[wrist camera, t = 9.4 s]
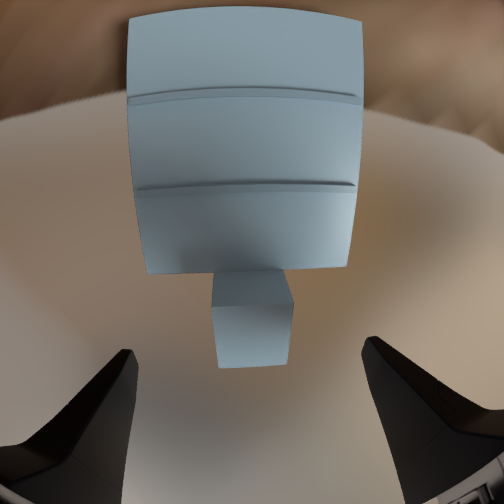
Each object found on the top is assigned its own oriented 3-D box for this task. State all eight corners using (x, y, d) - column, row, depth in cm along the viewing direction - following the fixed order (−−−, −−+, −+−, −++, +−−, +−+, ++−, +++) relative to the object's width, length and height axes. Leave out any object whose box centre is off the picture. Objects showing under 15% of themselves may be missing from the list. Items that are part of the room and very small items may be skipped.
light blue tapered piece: (142, 30, 8) (106, -1, 5) (345, 31, 9) (390, 5, 5) (166, 310, 15) (153, 367, 11) (325, 303, 16) (348, 356, 12)
